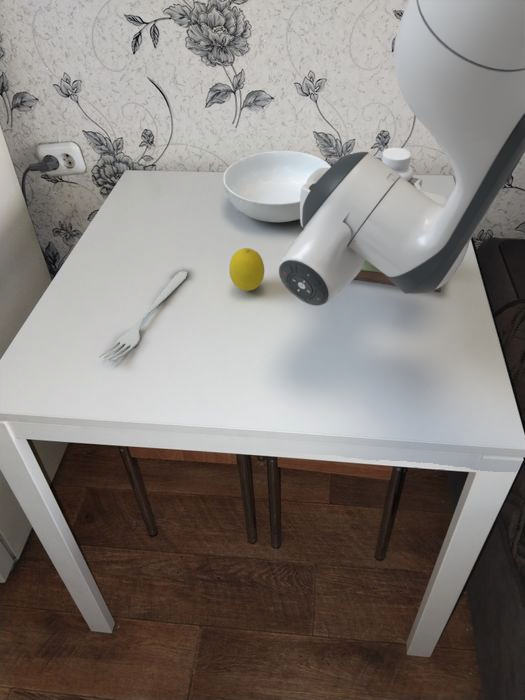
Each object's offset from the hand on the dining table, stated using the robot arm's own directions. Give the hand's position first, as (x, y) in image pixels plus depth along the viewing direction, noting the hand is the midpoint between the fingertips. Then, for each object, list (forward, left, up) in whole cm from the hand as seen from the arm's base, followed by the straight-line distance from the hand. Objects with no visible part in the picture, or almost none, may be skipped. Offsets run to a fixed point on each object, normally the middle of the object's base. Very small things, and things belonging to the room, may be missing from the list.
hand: (395, 177), depth 88 cm
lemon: (+20, +11, -17) cm, 29 cm away
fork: (+33, +21, -17) cm, 43 cm away
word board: (0, -1, -16) cm, 17 cm away
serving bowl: (+22, -15, -17) cm, 31 cm away
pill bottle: (0, +1, -6) cm, 6 cm away
